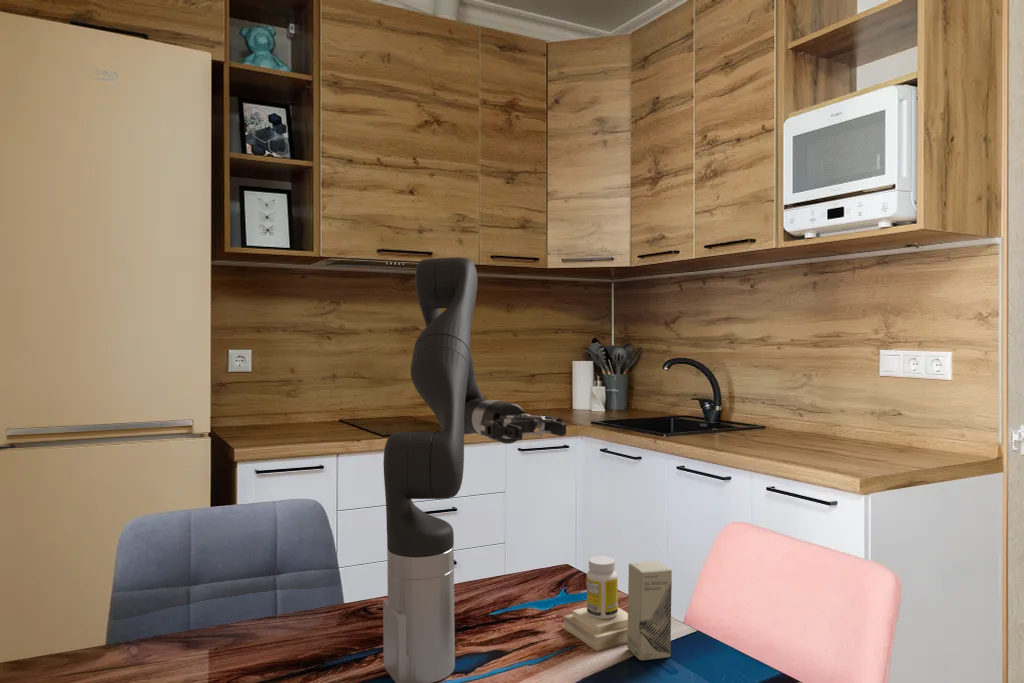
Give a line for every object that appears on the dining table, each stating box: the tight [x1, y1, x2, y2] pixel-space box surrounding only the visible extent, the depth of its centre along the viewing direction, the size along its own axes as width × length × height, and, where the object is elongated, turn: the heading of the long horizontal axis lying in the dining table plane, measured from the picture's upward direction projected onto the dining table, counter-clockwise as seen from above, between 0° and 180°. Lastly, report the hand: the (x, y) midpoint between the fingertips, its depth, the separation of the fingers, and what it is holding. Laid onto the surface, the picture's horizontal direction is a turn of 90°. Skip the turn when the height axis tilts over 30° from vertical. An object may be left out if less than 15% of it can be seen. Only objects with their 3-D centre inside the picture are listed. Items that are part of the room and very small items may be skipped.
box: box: [626, 560, 673, 661], centre depth 104 cm, size 5×4×13 cm
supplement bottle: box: [586, 555, 619, 619], centre depth 110 cm, size 5×5×8 cm
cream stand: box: [563, 606, 628, 652], centre depth 110 cm, size 9×9×3 cm
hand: (542, 431), depth 120 cm, fingers open, 8 cm apart
